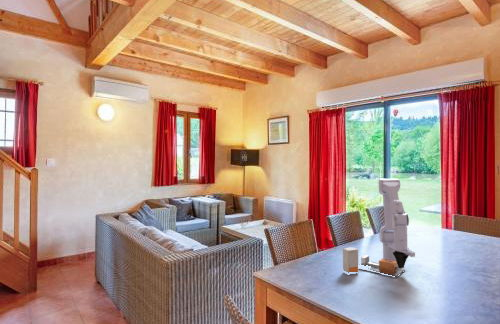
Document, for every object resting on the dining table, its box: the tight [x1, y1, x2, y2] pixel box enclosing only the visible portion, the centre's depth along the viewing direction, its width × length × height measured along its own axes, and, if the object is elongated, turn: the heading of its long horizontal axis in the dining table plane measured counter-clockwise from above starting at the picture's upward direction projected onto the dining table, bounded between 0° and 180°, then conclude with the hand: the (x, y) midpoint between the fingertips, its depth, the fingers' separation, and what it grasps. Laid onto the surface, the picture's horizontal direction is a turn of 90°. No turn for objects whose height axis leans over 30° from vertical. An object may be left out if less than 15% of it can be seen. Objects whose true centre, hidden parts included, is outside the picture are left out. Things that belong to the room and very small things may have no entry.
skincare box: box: [342, 246, 359, 273], centre depth 144 cm, size 6×4×12 cm
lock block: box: [378, 257, 398, 273], centre depth 145 cm, size 7×5×4 cm, turn 45°
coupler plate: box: [360, 254, 406, 278], centre depth 148 cm, size 12×19×5 cm, turn 45°
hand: (401, 267), depth 141 cm, fingers closed
